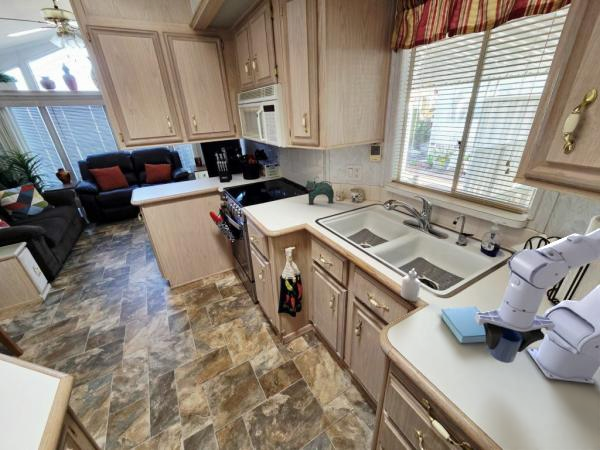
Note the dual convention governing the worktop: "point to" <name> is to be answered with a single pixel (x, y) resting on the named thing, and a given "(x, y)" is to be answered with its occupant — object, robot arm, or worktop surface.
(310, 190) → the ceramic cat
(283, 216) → the worktop surface
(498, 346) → the cup
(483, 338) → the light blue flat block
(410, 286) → the eye dropper bottle
